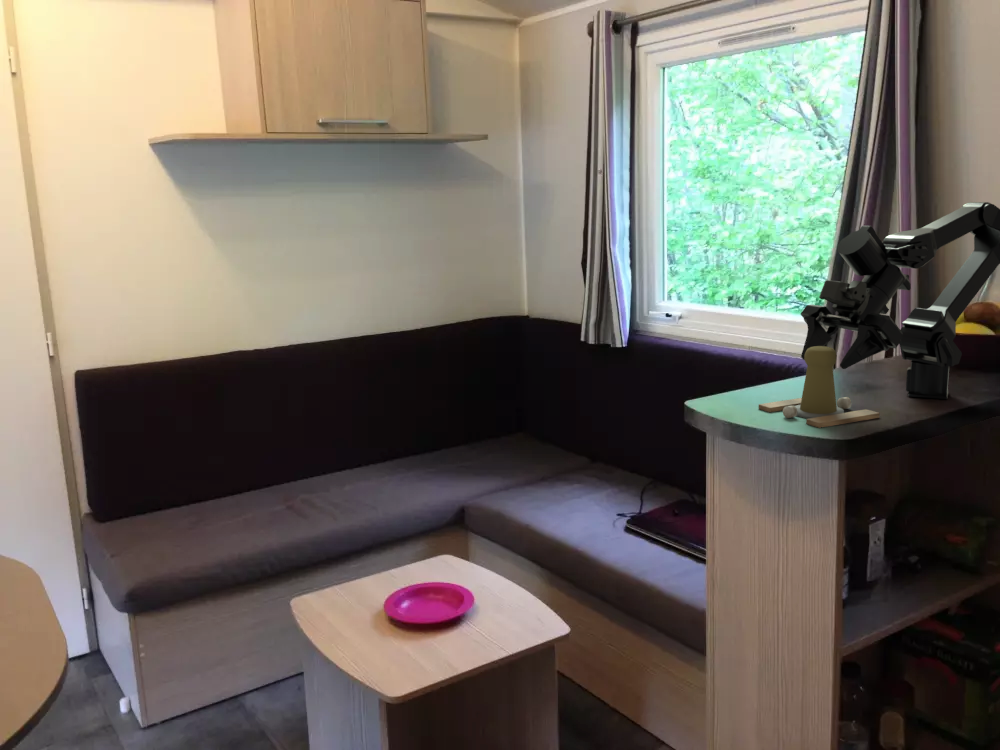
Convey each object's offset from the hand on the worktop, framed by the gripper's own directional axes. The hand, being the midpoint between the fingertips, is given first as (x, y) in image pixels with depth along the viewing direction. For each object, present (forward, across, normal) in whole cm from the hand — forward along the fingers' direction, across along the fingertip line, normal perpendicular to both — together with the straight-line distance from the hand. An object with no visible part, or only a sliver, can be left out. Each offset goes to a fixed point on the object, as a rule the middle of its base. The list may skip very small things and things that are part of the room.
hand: (821, 363), depth 155 cm
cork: (+6, 0, +6) cm, 8 cm away
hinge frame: (+7, 0, +6) cm, 9 cm away
